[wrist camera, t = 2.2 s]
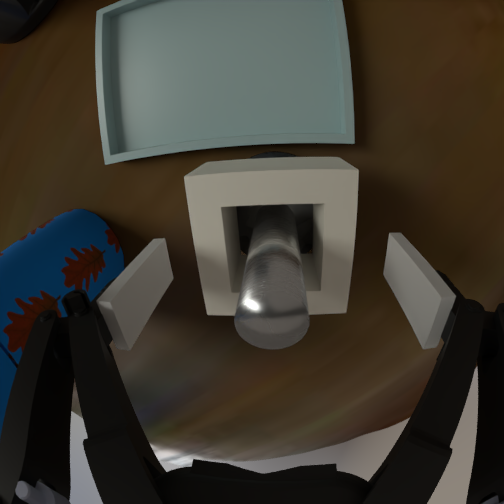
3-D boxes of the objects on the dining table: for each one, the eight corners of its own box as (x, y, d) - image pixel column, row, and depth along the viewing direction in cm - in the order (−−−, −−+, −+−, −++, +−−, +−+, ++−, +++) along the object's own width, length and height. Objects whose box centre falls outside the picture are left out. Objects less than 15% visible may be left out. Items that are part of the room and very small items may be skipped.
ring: (206, 162, 19) (184, 176, 14) (338, 157, 18) (358, 169, 13) (223, 296, 23) (212, 336, 19) (332, 294, 22) (342, 335, 18)
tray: (107, 15, 16) (96, 10, 14) (332, -19, 14) (336, -29, 12) (116, 160, 23) (105, 164, 21) (348, 141, 21) (354, 143, 19)
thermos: (96, 191, 24) (-112, 359, 2) (142, 281, 28) (18, 493, 6) (41, 227, 27) (-103, 355, 4) (81, 299, 31) (-25, 450, 9)
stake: (217, 155, 22) (130, 214, 9) (328, 150, 21) (407, 204, 8) (228, 253, 26) (183, 387, 13) (326, 250, 25) (365, 386, 12)
